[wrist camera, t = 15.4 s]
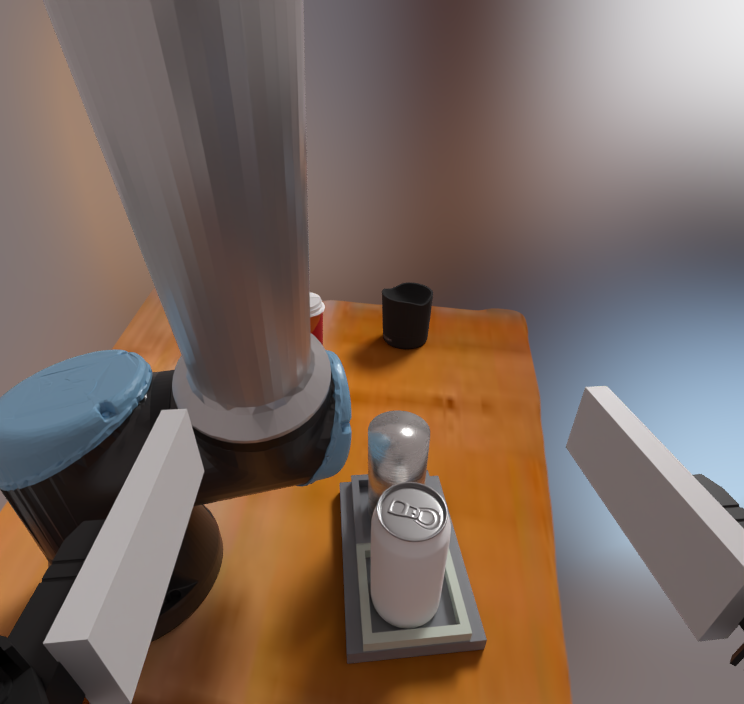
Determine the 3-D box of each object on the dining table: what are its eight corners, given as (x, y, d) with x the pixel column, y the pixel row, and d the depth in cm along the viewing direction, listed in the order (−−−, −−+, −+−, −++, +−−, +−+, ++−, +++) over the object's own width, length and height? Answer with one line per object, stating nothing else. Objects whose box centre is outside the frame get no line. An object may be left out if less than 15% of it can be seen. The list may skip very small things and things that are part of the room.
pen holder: (383, 326, 89) (383, 281, 84) (428, 328, 88) (432, 283, 83) (379, 349, 81) (380, 301, 76) (429, 352, 80) (433, 303, 75)
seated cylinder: (370, 537, 45) (371, 454, 39) (365, 492, 50) (365, 412, 44) (426, 533, 45) (436, 450, 39) (416, 488, 51) (423, 409, 44)
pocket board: (347, 663, 36) (346, 647, 35) (340, 491, 52) (339, 475, 51) (484, 649, 37) (488, 632, 36) (436, 484, 53) (438, 468, 52)
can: (429, 644, 36) (442, 559, 30) (359, 614, 38) (358, 529, 32) (447, 575, 41) (461, 491, 35) (384, 552, 44) (387, 468, 37)
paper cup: (273, 379, 72) (263, 303, 65) (301, 358, 78) (295, 286, 71) (311, 393, 69) (304, 315, 62) (337, 370, 75) (334, 296, 67)
